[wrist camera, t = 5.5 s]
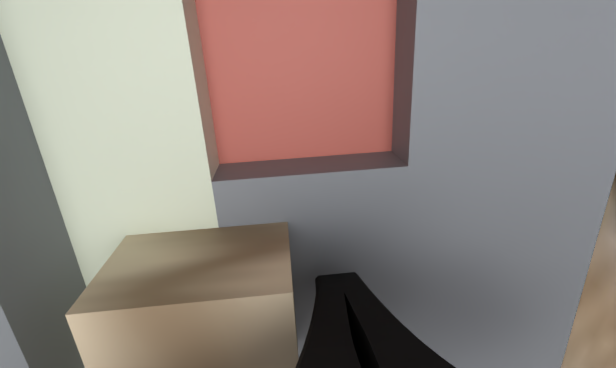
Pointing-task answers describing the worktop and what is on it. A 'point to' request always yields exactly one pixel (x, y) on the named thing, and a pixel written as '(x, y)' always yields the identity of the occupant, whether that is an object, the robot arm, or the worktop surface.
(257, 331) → the maple block
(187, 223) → the trap tray
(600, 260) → the worktop surface
